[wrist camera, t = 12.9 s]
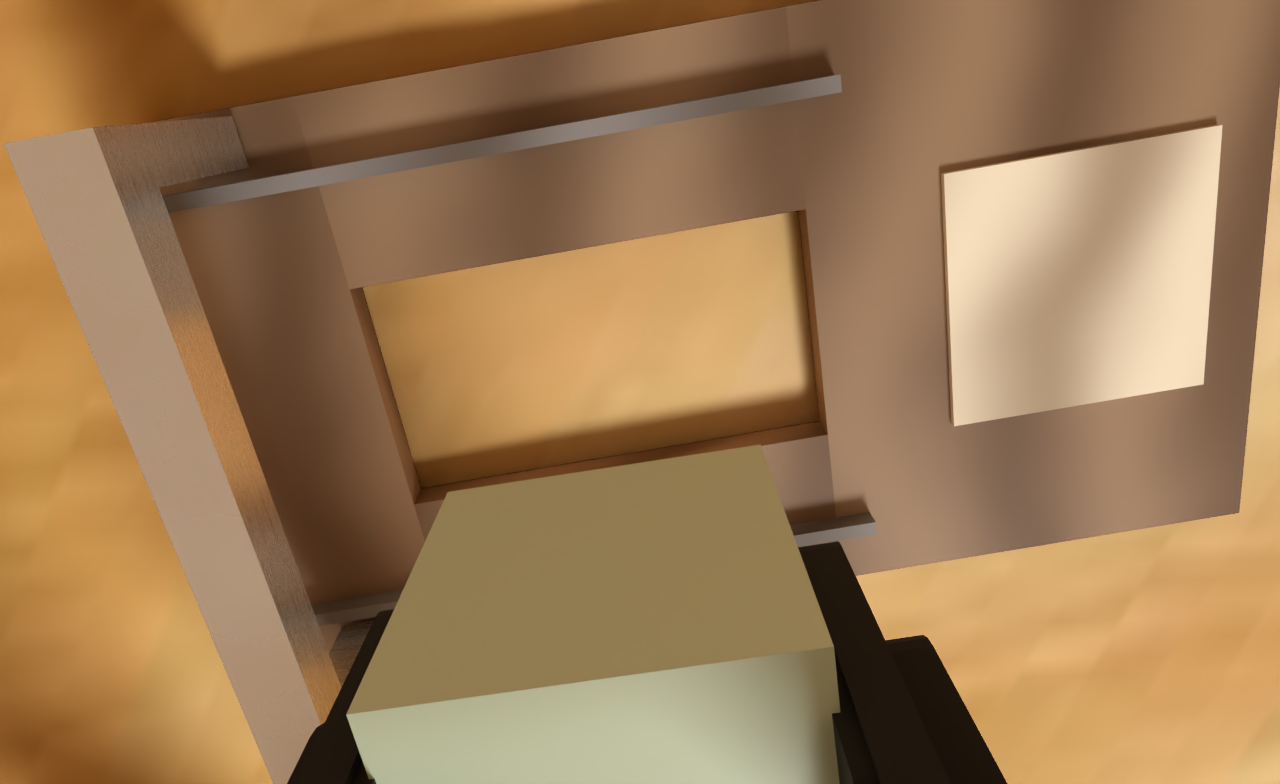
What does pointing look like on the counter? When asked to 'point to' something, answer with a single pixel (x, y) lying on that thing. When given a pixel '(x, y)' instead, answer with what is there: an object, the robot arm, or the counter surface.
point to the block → (606, 637)
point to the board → (832, 254)
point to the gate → (185, 408)
